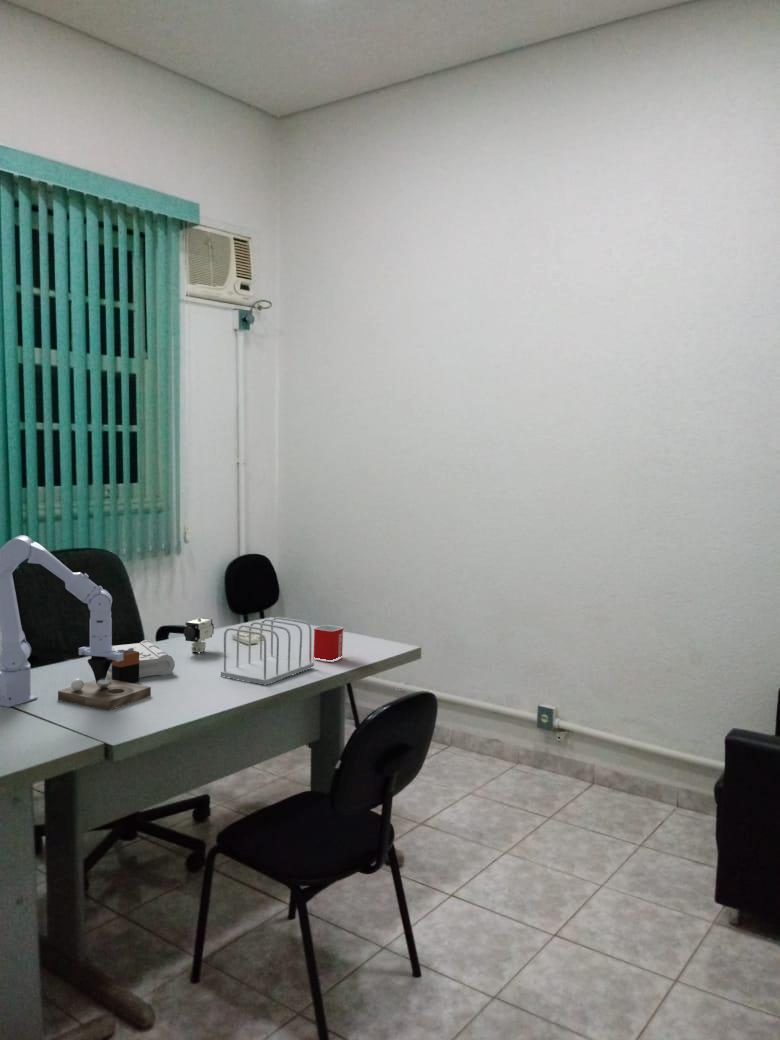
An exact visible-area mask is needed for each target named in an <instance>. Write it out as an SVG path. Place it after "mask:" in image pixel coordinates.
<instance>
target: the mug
mask: <svg viewBox="0 0 780 1040" xmlns="http://www.w3.org/2000/svg"><path fill="white" fill-rule="evenodd" d="M344 629H345V628H344V627H343V626H337V625H329V624H322V625H318V626H316V627H313V631H314V632H313V635H314V636H313V658H314V657H315V658H320V659H326V660H333V659H336V658H338V657H341V656H342V657H343V646H344V645H343V641H344V639H343V638H344Z"/></svg>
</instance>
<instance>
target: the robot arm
mask: <svg viewBox="0 0 780 1040" xmlns="http://www.w3.org/2000/svg"><path fill="white" fill-rule="evenodd" d="M26 559H28V560H27V563H28V564H37V565H41V566H42V567H44V568H45V569H47V570H48V571H49V572H51V573H52V574H53V575H55V576H56V577H57V578H59V579H61V580H62V581H63V582H64V584H65V586H64V587H65V589H66V590H67V591H68V592H69V593H71V594H72V595H74V597H76V598H77V599H78V600H80V601H81V602H82V603H84V604H87V607H88V610H89V614H90V616H89V646H82V647H78V655H79V656H87V657H88V656H89V657H90V658H89V659H87V663H88V665H89V666H90V669H91V670H92V672H93V676H94V680H96V683H97V682H98V680H99V679H100V678H102V677H106V675H107V672H108V669H109V667H110V665H111V663H112V662H113V660H116V661H117V662H119V661H122V660H123V653H120V652H117V651H115V650H114V648H112V646H113V644H112V643H113V641H112V638H113V636H112V635H113V631H112V630H113V628H112V627H113V626H112V625H113V623H112V622H113V621H112V620H113V619H112V611H111V610H112V603H113V597H112V595H111V594H110V593H109V591H108V590H106V589H103V586H102V585H97V584H96V583H95V582H94V581H92V580H91V579H90V578H89V575H88V574H87V573H86V572H85V573H82V572H80V571H79V572H78V571H77V572H73V571H72V570H71V569H70V568H68V567H67V566H66V565H65V564H63V563H62V561H61V560H59V559H58V558H57V557H55V556H54V554H52V553H51V552H50V551H49V550H47V549H46V548H45V547H44V546H42V545H41V544H40V543H38V542H36V541H34V540H33V539H32V538H31V537H29V536H27V535H24V534H23V535H17V536H15V537H14V538H13V537H12V538H11V539H10V540H8V541H7V542H5V544H3V545H2V547H1V548H0V630H1V653H0V663H1V666H0V706H2V707H6V708H10V707H15V706H18V705H20V704H24V703H27V702H30V701H33V700H37V699H39V697H38V696H37V695H31V690H32V689H31V682H32V681H31V678H32V677H31V667H32V666H31V663H30V662H29V660H28V659H29V657H30V656H31V653H32V647H31V645H30V643H29V642H28V641H27V639H26V635H25V632H24V631H23V628H22V627H23V626H22V623H21V617H20V611H19V605H18V599H17V593H16V588H15V583H14V577H13V572H14V571H15V570H16V568H18V566H20V564H21V563H22V562H24V561H25V560H26Z"/></svg>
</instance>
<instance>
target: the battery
mask: <svg viewBox="0 0 780 1040" xmlns="http://www.w3.org/2000/svg"><path fill="white" fill-rule="evenodd" d="M117 652H120V653H123V660H122V661H119V662H117V661H116V660H113V662H112V680H117V681H122V682H127V683H132V684H137V683H139V682H140V677H139V652H137V651H134V649H133V648H129V649H128V650H126V651H125V650H117Z"/></svg>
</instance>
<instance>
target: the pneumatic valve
mask: <svg viewBox="0 0 780 1040" xmlns="http://www.w3.org/2000/svg"><path fill="white" fill-rule="evenodd" d="M214 626H215V625H214V623H213V619H212V618H211V619H210V618H204V617H199V616H198V617H197V618H196V619H193V620H190V621H186V622H185V628H184V629H183V636H184V638H185V642H192V643H191V653H192V652H203V651H205V650H206V647H207V646H206V642H205V641H206V640H207V639H210V638H212V637H213V635H214V631H215V629H214V628H215V627H214ZM205 652H206V651H205ZM203 653H204V652H203Z"/></svg>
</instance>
